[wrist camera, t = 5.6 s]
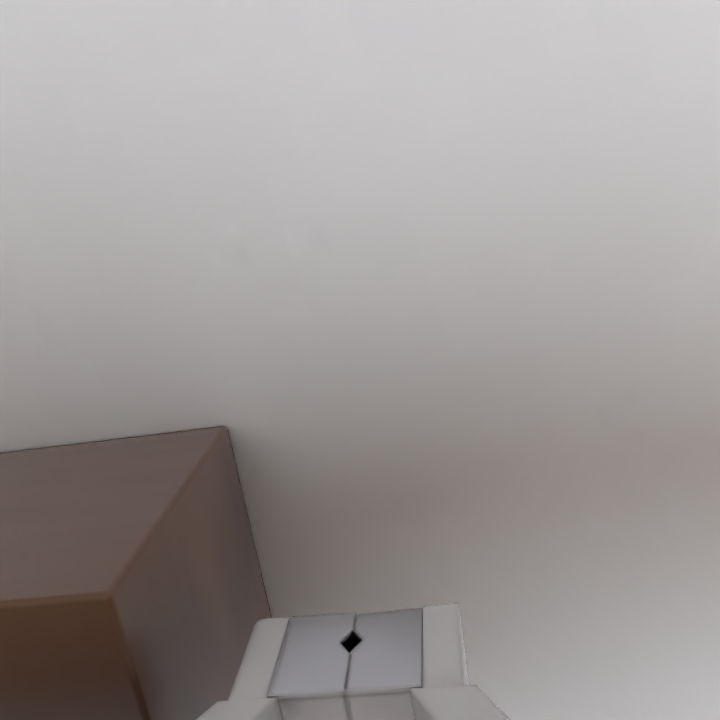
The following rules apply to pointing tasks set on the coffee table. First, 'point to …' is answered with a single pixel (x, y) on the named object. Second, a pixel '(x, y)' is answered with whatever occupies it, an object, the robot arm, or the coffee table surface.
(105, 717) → the middle block
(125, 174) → the coffee table surface
